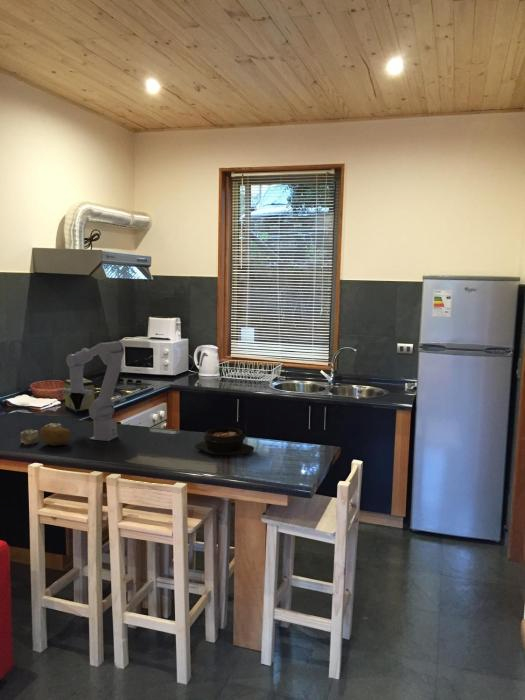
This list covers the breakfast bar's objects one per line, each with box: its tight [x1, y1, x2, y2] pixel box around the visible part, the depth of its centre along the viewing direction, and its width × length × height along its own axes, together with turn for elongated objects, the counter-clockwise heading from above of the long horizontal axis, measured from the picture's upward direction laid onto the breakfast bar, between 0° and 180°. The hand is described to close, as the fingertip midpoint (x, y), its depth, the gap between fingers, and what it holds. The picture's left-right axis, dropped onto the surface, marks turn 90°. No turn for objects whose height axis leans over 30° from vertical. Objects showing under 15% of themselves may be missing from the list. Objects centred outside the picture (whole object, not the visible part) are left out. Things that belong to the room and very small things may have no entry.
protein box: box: [64, 377, 95, 414], centre depth 303 cm, size 10×16×16 cm
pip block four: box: [20, 429, 40, 445], centre depth 244 cm, size 5×5×5 cm
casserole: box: [194, 426, 255, 457], centre depth 233 cm, size 25×19×8 cm
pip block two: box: [43, 422, 62, 428], centre depth 254 cm, size 5×5×5 cm
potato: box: [39, 425, 72, 447], centre depth 240 cm, size 10×14×8 cm
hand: (77, 409), depth 260 cm, fingers closed
